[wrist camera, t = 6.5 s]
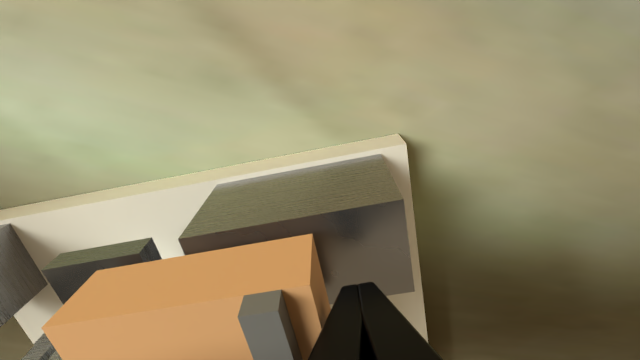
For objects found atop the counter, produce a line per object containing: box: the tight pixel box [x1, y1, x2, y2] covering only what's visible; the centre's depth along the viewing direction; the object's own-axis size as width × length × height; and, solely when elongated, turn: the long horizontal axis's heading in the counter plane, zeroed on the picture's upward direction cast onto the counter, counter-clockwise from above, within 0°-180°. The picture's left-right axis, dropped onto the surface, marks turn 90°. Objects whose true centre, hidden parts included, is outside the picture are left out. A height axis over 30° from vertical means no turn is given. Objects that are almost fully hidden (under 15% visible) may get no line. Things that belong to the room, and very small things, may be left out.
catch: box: [41, 234, 331, 360], centre depth 8 cm, size 6×3×3 cm, turn 101°
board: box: [0, 134, 428, 344], centre depth 18 cm, size 19×18×2 cm
